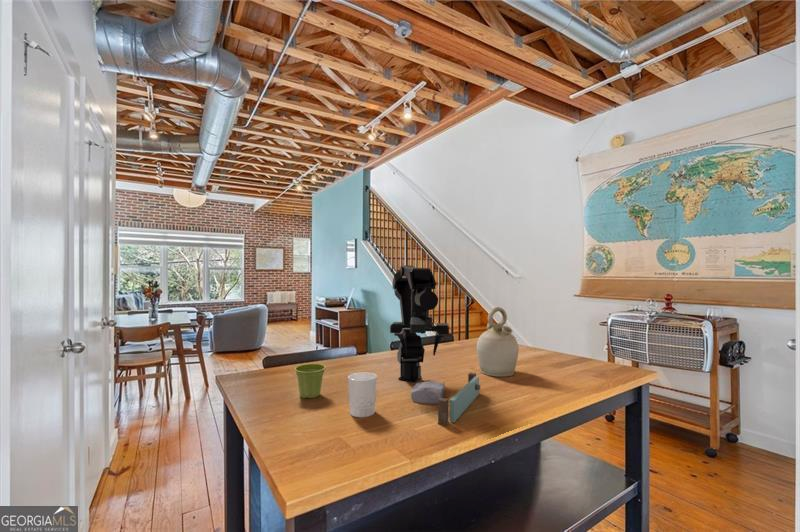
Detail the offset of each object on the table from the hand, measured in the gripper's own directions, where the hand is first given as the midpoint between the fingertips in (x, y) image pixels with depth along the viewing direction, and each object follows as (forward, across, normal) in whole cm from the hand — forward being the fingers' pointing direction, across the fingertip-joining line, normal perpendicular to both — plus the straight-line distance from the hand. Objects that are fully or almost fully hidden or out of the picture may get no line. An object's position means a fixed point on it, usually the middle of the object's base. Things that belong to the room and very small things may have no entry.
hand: (419, 354), depth 117 cm
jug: (+12, +28, +26) cm, 40 cm away
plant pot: (+12, -33, -9) cm, 37 cm away
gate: (+11, +15, -12) cm, 22 cm away
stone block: (+12, +3, -5) cm, 13 cm away
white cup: (+12, -14, -20) cm, 27 cm away
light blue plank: (+12, +12, -11) cm, 20 cm away
